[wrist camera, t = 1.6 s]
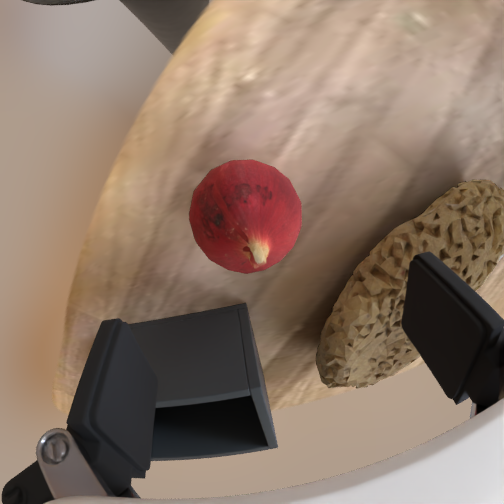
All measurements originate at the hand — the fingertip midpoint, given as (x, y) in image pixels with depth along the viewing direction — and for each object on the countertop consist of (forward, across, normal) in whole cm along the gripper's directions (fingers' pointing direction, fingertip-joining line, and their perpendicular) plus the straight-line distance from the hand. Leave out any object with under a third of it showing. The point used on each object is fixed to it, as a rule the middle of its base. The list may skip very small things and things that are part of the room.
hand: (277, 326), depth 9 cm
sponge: (+12, -12, +8) cm, 19 cm away
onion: (+12, 0, -1) cm, 12 cm away
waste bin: (+12, +7, +12) cm, 19 cm away
